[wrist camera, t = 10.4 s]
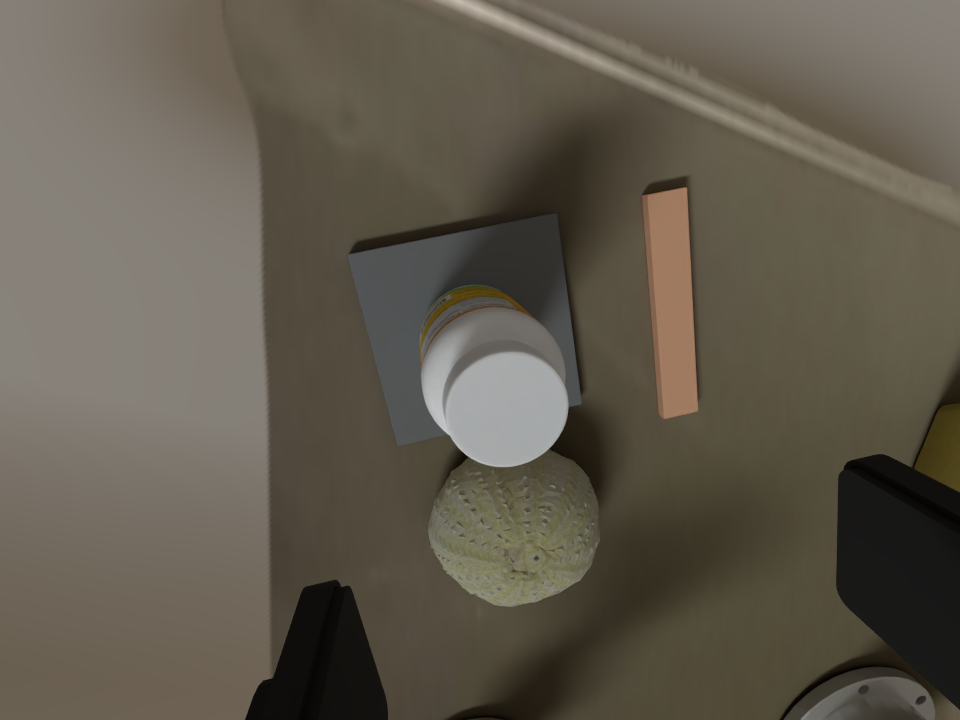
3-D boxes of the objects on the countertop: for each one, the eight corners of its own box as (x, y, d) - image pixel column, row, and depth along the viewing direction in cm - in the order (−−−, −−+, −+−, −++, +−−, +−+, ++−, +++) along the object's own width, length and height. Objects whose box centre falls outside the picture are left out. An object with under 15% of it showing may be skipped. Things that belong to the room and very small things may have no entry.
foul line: (692, 407, 28) (698, 411, 28) (658, 414, 28) (664, 419, 28) (680, 187, 25) (686, 187, 24) (641, 195, 25) (647, 195, 24)
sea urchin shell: (469, 412, 25) (601, 521, 21) (535, 414, 32) (645, 497, 28) (384, 555, 27) (492, 680, 23) (464, 528, 33) (558, 621, 29)
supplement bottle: (529, 381, 26) (593, 476, 17) (426, 394, 25) (432, 499, 16) (523, 277, 24) (590, 318, 15) (413, 288, 24) (411, 338, 15)
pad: (578, 400, 27) (581, 404, 27) (398, 441, 27) (397, 446, 26) (553, 212, 24) (557, 213, 24) (348, 253, 24) (347, 254, 23)
